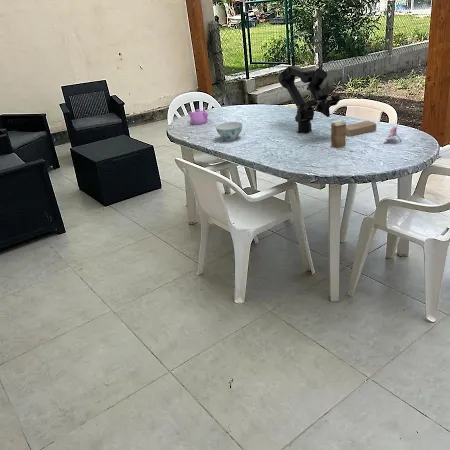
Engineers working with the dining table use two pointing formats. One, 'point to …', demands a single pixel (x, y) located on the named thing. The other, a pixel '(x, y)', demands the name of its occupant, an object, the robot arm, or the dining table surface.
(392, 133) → the lily
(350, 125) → the brick
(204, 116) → the teapot
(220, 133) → the chinaware
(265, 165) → the dining table surface
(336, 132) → the walnut block
